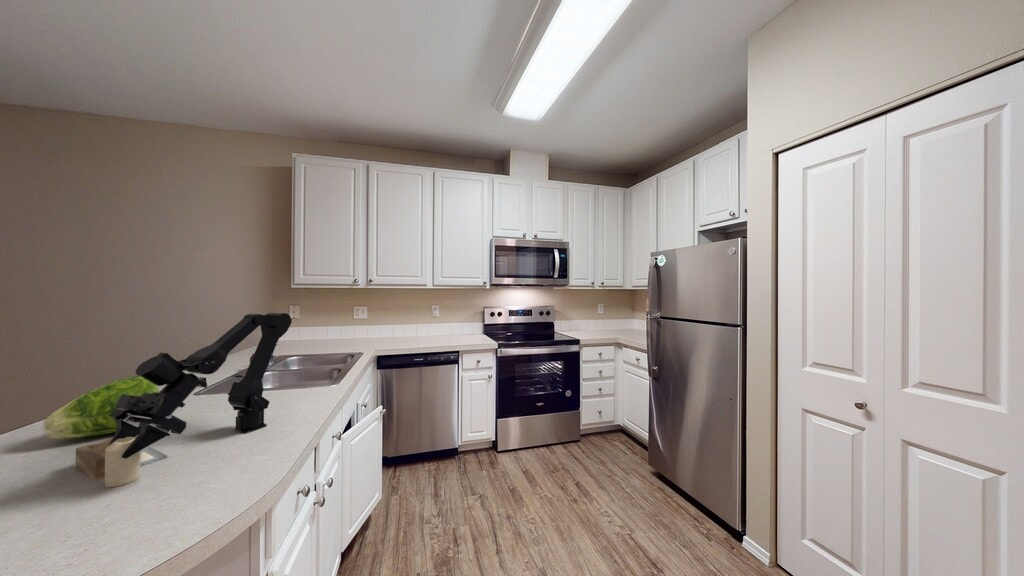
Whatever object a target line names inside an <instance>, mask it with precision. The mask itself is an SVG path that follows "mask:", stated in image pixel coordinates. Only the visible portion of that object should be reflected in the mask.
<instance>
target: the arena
mask: <svg viewBox="0 0 1024 576" xmlns="http://www.w3.org/2000/svg"><path fill="white" fill-rule="evenodd" d="M138 435H139V434H138ZM138 435H137V436H138ZM137 436H136V437H137ZM136 437H134V438H136ZM111 440H112V438H108V439H105V440H101V441H97V442H95V443H90V444H87V445H83V446H80V447H79V446H78V447H76V448H75V469H77V471H78V470H79V471H80V472H81V473H83V474H84V475H85V476H86V477H90V478H89V479H90V480H92V481H94V482H95V483H96V482H99V481H103V480H105V449H106V448H107V447H108V446H109V444H110V442H111ZM166 458H168V454H165V453H163V452H161V451H159V450H157V449H155V448H153V447H151V446H150V445H149V446H147V447H146V448H144V449H142V450H140V466H141V467H143V466H147V465H149V464H152V463H156V462H158V461H161V460H164V459H166Z"/></svg>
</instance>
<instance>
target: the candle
mask: <svg viewBox="0 0 1024 576" xmlns="http://www.w3.org/2000/svg"><path fill="white" fill-rule="evenodd" d="M134 440H135V438H134V437H126V438H124V439H117V440H116V441H115V442H114V443H112V444H111V445H109V446H108V447H107V448H106V449H105V479H104V485H105V488H115V487H120V486H124V485H126V484H130V483H132V482H135V481H136V480H138V479H139V478H140V476H141V467H140V451H139V452H137V453H135V454H134V455H132V456H130V457H128V458H126V459H125V458H122V457H121V456H122V455H123V454H124V452H125V451H126V449H127V448H128V447H129V446H130V445H131V443H132V442H133V441H134Z"/></svg>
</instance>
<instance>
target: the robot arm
mask: <svg viewBox="0 0 1024 576" xmlns="http://www.w3.org/2000/svg"><path fill="white" fill-rule="evenodd" d="M292 320H293V319H292V318H291V316H290V314H288V313H286V312H268V313H266V314H261V313H248V314H245V315H244V316H243V318H242V319H240V320H239V321H238V322H237V323H236V324H235V325H234V326H232V327H231V328H230V329H229V330H228V331H226V332H225V333H224V334H223V335H221V336H220V337H219V338H218V339H216V341H214V342H213V343H211V344H209V345H206V346H204V347H202V348H199V349H198V350H196V351H194V352H193V353H192V354H190V355H188V356H187V357H186V358H184V359H180V360H176V359H175V358H174V357H173V356H172V355H171V354H169V353H167V352H159V353H158V354H157V355H156V356H152V357H150V358H149V359H147V360H145V361H143V362H141V363H140V364H139V365H138V366H137V368H136V369H135V375H136V376H138V375H139V376H141V377H142V378H144V379H146V380H148V381H150V382H151V383H153V384H155V385H156V386H157V387H161V386H164V387H162V389H160V390H159V393H156V392H154V393H143V394H142V395H141V396H135V395H126V394H122V395H121V396H120V398H119V400H118V402H117V403H116V405H115V407H114V408H118V409H115V410H114V411H113V412H112V413H111V414H110V415H109V417H111V418H113V419H115V420H114V422H116V425H117V430H116V432H115V433H114V435H113V437H112V438H111V439H112V440H111V442H110V444H109V445H111V444H112V443H114V442H115V441H116V440H117V439H124V438H126V437H136V436H137V435H138V434H139V435H138V436H137V437H136V438H135V440H134V441H133V442H132V443H131V445H130V446H129V447H128V448H127V449H126V451H125V452H124V454H123V455H122V456H121V457H122V458H125V459H126V458H128V457H130V456H132V455H134V454H135V453H137V452H139V451H140V450H142V449H144V448H146V447H147V446H149V447H150V446H151V445H152V444H154V443H156V442H159V441H160V440H162V439H164V438H165V437H170V436H171V434H173V435H181V434H182V433H183V432H184V431H185V430H186V428H187V427H188V426H187V421H185V420H183V419H181V418H179V417H177V416H175V415H173V413H174V412H175V411H176V410H178V408H185V407H184V406H186V403H185V402H184V401H185V400H186V399H187V398H188V397H189V396H190V395H191V394H192V393H193V392H194V390H195V389H197V388H203V389H205V388H208V382H207V377H198V376H197V375H198V374H199V375H212V374H215V373H216V372H217V371H219V370H220V368H221V367H222V366H223V365H224V363H225V362H226V361H227V357H228V355H229V353H230V352H232V351H233V350H234V349H235V348H236V347H237V346H238V345H239V344H240V343H242V342H243V341H244V340H245V339H246V338H247V337H248V336H249V335H251V334H252V333H253V332H255V330H256V329H257V328H259V327H260V331H261V337H260V339H259V342H258V344H257V346H256V348H255V350H254V353H253V356H252V358H251V361H250V363H249V365H248V367H247V369H246V372H245V375H244V377H243V378H242V379H241V380H240V381H239V382H238V381H234V382H233V383H231V388H230V391H229V392H228V393H227V396H228V397H227V402H228V403H229V405H230V406H232V409H233V411H237V414H236V416H235V427H234V430H235V431H238V432H241V433H243V434H247V433H250V432H252V431H256V430H258V429H261V428H264V427H265V428H266V427H267V423H265V410H266V409H268V408H269V406H270V405H269V404H270V401H269V400H268V399H266V398H265V397H264V396H263V393H264V386H263V385H264V384H263V379H264V377H265V374H266V372H267V369H268V367H269V364H270V361H271V358H272V357H273V354H274V351H275V349H276V347H277V344H278V341H279V339H280V338H282V337H283V336H284V335H285V334H286V333H287V332H288V330H289V329H290V328H291V325H292V322H293V321H292ZM186 372H188V373H186ZM196 374H197V375H196ZM140 426H141V427H140ZM169 432H170V433H169Z"/></svg>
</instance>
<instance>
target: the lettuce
mask: <svg viewBox="0 0 1024 576" xmlns="http://www.w3.org/2000/svg"><path fill="white" fill-rule="evenodd" d="M154 392H156V393H159V392H160V390H159V388H158V386H157V385H155V384H153V383H151V382H150V381H148V380H146V379H144V378H142V377H141V376H139V375H135V376H129V377H124V378H121V379H117V380H113V381H111V382H108V383H106V384H103V385H101V386H99V387H97V388H95V389H92V390H89V391H87V392H85V393H83V394H80V395H79V396H77V397H75V398H73V399H71V400H70V401H69V402H68V403H66V404H65V405H63V406H62V407H60V408H59V409H56V410H55V411H53V412H52V413H51V414H49V415H48V416H47V417H46V418H45V419H44V420H43V422H42V423H43V424H42V425H43V429H42V431H43V432H44V434H45V435H46V436H47V438H50V439H55V440H65V439H73V438H74V439H77V438H78V439H79V438H80V439H83V438H93V437H99V436H100V435H101V436H106V435H110V433H111V434H115V432H116V430H117V425H116V422H114V420H115V419H113V418H111V417H109V415H110V414H111V413H112V412H113V411H114V410H115V409H118V408H114V407H115V405H116V403H117V402H118V400H119V398H120V396H121V395H122V394H126V395H135V396H141V395H142V394H143V393H154ZM139 428H141V426H140V427H139ZM105 434H106V435H105Z"/></svg>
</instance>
